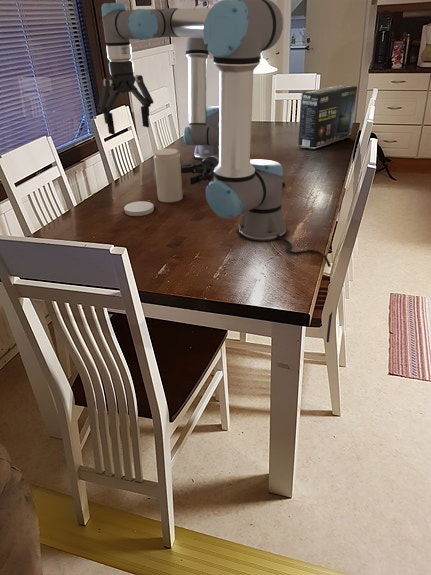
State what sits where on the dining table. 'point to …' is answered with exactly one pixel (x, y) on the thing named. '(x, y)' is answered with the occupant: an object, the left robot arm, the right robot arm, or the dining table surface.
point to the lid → (139, 208)
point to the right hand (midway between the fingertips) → (129, 130)
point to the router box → (326, 115)
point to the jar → (168, 175)
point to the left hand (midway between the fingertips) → (178, 178)
